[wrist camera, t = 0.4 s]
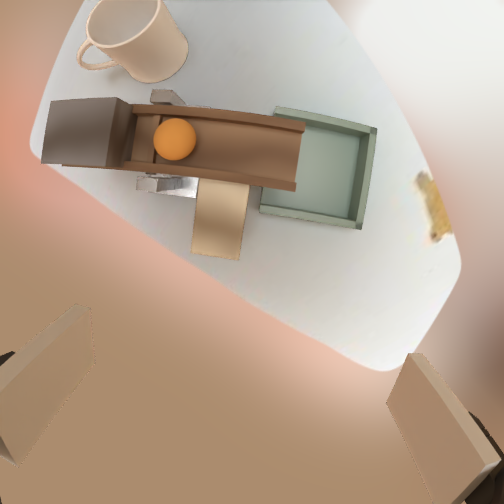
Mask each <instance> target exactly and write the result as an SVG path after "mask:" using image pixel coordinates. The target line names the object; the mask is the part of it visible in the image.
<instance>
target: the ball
mask: <svg viewBox="0 0 504 504" xmlns="http://www.w3.org/2000/svg"><path fill="white" fill-rule="evenodd" d="M153 143H154V147H155V149H156V151H157V153H158V154H159V155H160V156H161V157H163V158H165V159H168V160H180V159H183V158H185V157H186V156H188V155H189V154H190V153H191V152H192V150H193V149H194V147H195V144H196V133H195V130H194V128H193V127H192V126H191V124H190V123H188V122H187V121H185V120H183V119H178V118H173V119H169V120H166V121H164V122H163V123H161V124H160V125H159V126H158V128H157V129H156V131H155V133H154V138H153Z"/></svg>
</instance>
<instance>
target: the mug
mask: <svg viewBox="0 0 504 504" xmlns="http://www.w3.org/2000/svg"><path fill="white" fill-rule="evenodd" d="M86 34H87V37H88V39H87V40H86V41H85V42H84V43H83V44H82V45H81V47H80V48H79V50H78V53H77V61H78V64H79V65H80V66H81V67H82V68H84V69H87V70H102V69H106V68H110V67H113V66H116V65H119V64H120V65H121V66H122V67H123V68H125V69H126V70H127V71H128V73H129V74H130V75H131V76H132V77H133V78H134V79H136V80H138V81H140V82H144V83H155V82H159V81H163V80H165V79H167V78H169V77H171V76H172V75H173V74H175V73H176V72H177V71H178V70H179V69H180V68H181V67H182V65H183V64H184V62H185V60H186V58H187V55H188V42H187V40H186V38H185V36H184V35H183V34H182V33H181V32H180V31H179V29H178V27H177V25H176V23H175V22H174V20H173V18H172V16H171V14H170V13H169V11H168V9H167V7H166V6H165V4H164V2H163V0H100V1H99V2H98V3H97V5H96V6H95V7H94V8H93V10H92V11H91V13H90V15H89V17H88V20H87V23H86ZM92 45H95V46H96V47H97V48H99V49H100V50H101V51H103V52H104V53H105V54H107V55H108V56H109V57H111V58H112V59H113V60H111V61H109V62H106V63H102V64H86V63H84V62H83V61H82V56H83V54H84V52H85V51H86V50H87V49H88V48H89V47H90V46H92Z"/></svg>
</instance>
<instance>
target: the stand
mask: <svg viewBox="0 0 504 504" xmlns="http://www.w3.org/2000/svg"><path fill="white" fill-rule="evenodd" d="M150 102H151V103H153V104H154V105H170V106H187V107H200V108H210V107H207V106H195V105H186V104H185V102H184V101H183V100H182V99H181V98H180V97H179V96H178V95H177V94H176V93H175V92H174V91H173V90H152V93H151V98H150ZM199 180H200V178H196V177H187V176H179V175H170V174H160V173H156V175H150V177H138V178H137V186H136V190H144V191H148V192H151V193H160V194H168V195H176V196H184V197H192V198H197V194H198V187H199Z"/></svg>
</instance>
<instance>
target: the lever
mask: <svg viewBox="0 0 504 504" xmlns="http://www.w3.org/2000/svg"><path fill="white" fill-rule="evenodd" d="M173 118H178V119H183V120H185V121H187V122H188V123H190V124H191V126H192V127H193V128H194V130H195V133H196V144H195V147H194V149H193V150H192V152H191V153H190V154H189V155H188V156H186V157H185V158H183V159H180V160H168V159H165V158H163V157H161V156H160V155H159V154H158V153H157V151H156V149H155V147H154V143H153V138H154V133H155V131H156V129H157V128H158V126H159V125H160V124H161V123H163V122H164V121H166V120H169V119H173ZM305 126H306V122H302V121H297V120H291V119H285V118H280V117H273V116H267V115H260V114H253V113H246V112H238V111H230V110H221V109H211V108H200V107H187V106H170V105H144V104H128V103H126V102H124V101H123V100H121V99H119V98H117V97H112V98H86V99H71V100H59V101H51V104H50V109H49V114H48V119H47V124H46V130H45V136H44V143H43V150H42V158H41V163H42V164H62V166H70V167H88V168H103V169H116V170H128V171H140V172H146V174H150V175H156V173H160V174H170V175H179V176H187V177H196V178H200V181H199V189H198V196H197V203H196V211H195V219H194V227H193V236H192V245H191V253H194V254H200V255H207V256H213V257H220V258H226V259H233V260H239V255H240V249H241V242H242V235H243V228H244V222H245V215H246V209H247V202H248V196H249V189H250V185H254V186H260V187H267V188H273V189H279V190H285V191H291V192H295V191H296V185H297V183H296V182H295V178H296V171H297V165H298V159H299V152H300V145H301V139H302V134H303V133H304V132H305Z"/></svg>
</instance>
